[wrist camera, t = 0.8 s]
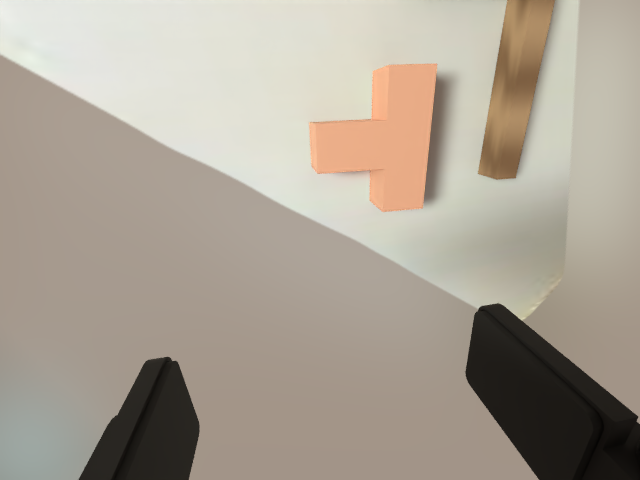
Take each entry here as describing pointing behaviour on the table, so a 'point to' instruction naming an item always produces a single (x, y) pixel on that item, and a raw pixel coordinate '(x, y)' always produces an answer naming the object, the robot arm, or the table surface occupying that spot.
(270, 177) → the table surface
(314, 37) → the table surface
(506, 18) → the walnut fence
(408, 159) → the t block
